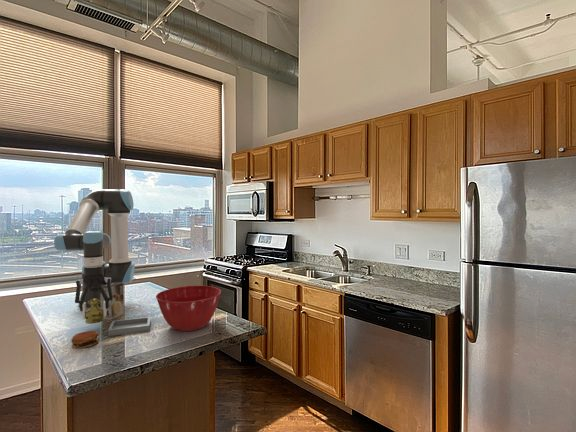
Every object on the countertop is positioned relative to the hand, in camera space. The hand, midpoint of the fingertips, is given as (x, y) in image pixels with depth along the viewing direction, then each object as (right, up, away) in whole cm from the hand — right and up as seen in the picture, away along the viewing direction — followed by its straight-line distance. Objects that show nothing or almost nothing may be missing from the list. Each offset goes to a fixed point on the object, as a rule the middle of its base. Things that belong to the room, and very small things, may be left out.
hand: (94, 316), depth 150 cm
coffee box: (-1, -5, +17) cm, 18 cm away
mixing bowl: (+42, -5, +3) cm, 42 cm away
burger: (+6, -6, -17) cm, 19 cm away
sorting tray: (+16, -5, 0) cm, 17 cm away
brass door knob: (0, -2, 0) cm, 2 cm away
